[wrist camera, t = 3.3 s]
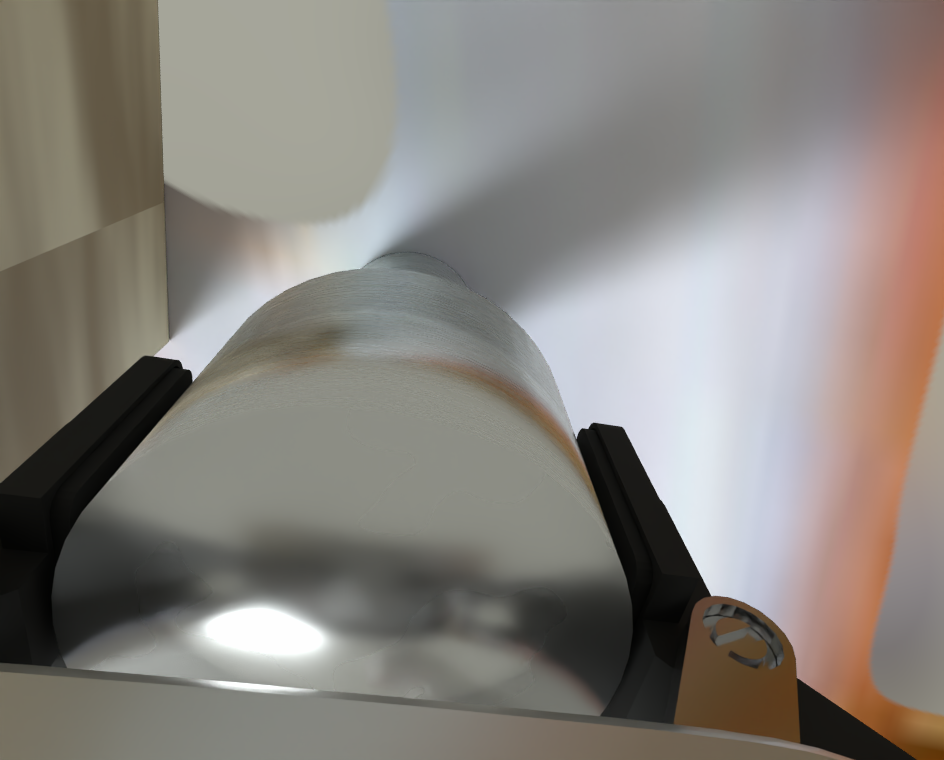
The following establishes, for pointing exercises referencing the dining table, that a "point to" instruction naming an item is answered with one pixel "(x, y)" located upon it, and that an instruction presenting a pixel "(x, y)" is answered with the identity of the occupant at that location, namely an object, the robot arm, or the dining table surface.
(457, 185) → the dining table surface
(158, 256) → the block
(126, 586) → the silver metal cylinder
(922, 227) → the dining table surface
